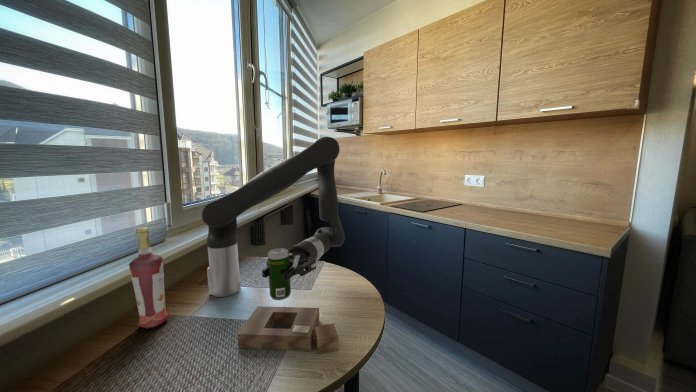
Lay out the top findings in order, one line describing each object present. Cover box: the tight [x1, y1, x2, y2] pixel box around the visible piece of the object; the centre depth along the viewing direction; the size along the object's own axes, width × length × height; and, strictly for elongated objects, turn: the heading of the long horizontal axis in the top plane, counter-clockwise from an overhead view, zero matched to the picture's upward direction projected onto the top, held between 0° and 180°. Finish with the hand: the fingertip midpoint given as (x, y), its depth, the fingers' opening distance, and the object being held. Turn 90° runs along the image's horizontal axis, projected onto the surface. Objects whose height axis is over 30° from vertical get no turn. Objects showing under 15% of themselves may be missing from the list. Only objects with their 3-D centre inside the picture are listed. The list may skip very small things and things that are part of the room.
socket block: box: [237, 305, 320, 352], centre depth 69 cm, size 18×12×4 cm, turn 87°
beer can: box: [267, 247, 292, 301], centre depth 67 cm, size 5×5×12 cm
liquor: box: [128, 226, 169, 330], centre depth 72 cm, size 7×7×28 cm
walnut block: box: [314, 323, 339, 355], centre depth 64 cm, size 5×5×4 cm
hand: (273, 275), depth 64 cm, fingers closed on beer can, 5 cm apart
